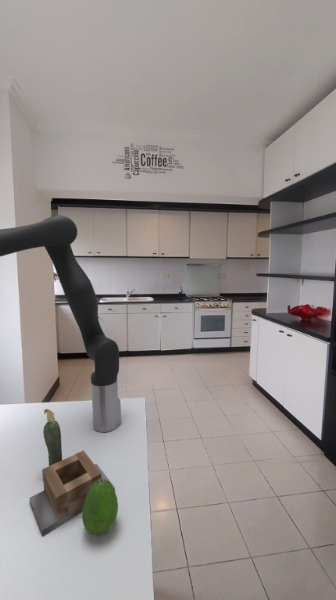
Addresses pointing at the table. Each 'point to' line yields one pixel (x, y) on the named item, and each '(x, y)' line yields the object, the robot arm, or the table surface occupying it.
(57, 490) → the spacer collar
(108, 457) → the table surface
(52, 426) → the vegetable
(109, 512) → the avocado
